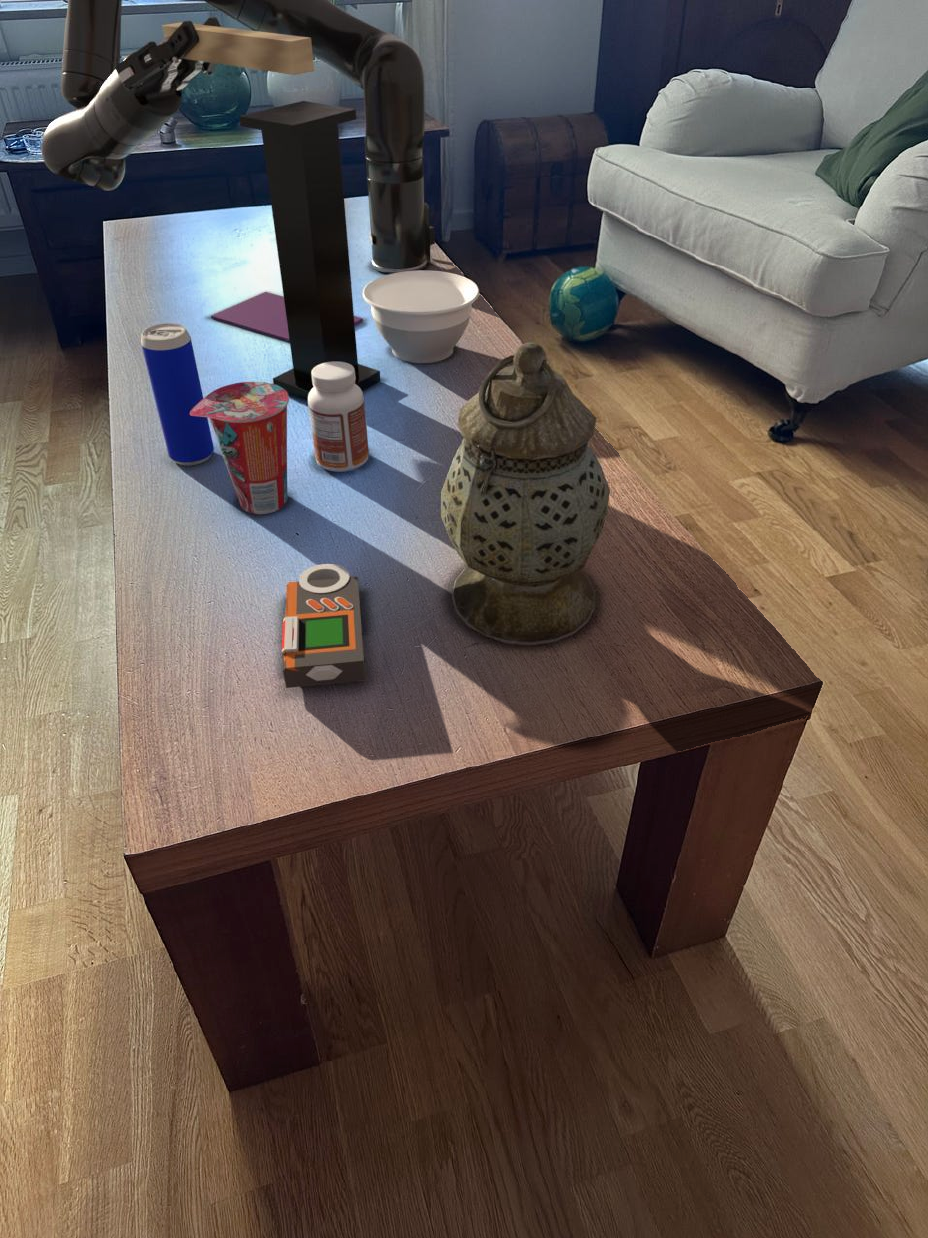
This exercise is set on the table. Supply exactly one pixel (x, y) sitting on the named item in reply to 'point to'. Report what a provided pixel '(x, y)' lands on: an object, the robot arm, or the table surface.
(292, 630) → the electronic device
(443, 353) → the bowl
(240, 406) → the cup
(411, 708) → the table surface
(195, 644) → the table surface
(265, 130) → the stand
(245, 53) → the birch stick
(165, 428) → the beverage can
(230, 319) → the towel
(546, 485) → the lantern
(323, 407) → the pill bottle
